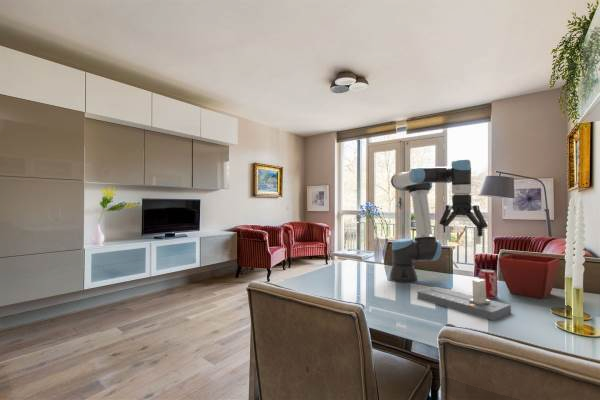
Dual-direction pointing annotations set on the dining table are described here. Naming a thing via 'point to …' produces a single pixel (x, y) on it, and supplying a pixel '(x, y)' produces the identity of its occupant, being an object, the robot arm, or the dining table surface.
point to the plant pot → (529, 274)
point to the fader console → (464, 303)
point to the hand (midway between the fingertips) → (462, 241)
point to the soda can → (489, 282)
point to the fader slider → (479, 292)
